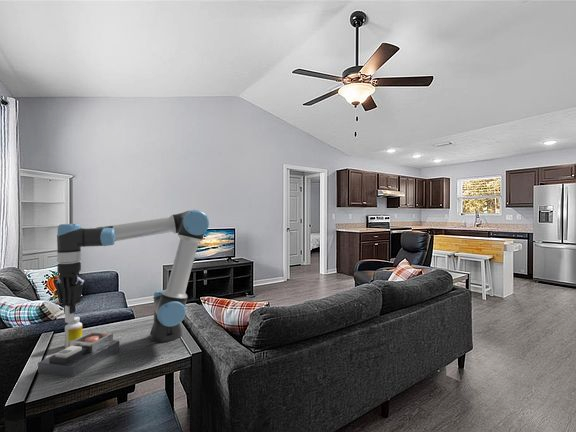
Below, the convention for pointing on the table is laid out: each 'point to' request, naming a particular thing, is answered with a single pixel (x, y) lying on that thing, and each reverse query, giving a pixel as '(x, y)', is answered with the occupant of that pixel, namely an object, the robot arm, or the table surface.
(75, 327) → the supplement bottle
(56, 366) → the grey stepped block
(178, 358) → the table surface
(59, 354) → the on button
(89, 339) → the breaker button
